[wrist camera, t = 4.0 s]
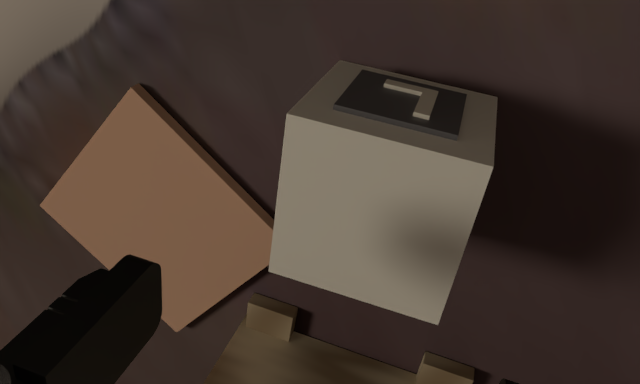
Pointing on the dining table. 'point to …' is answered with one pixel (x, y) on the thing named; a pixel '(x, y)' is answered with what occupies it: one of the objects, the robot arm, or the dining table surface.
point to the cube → (382, 187)
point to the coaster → (162, 208)
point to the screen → (312, 356)
